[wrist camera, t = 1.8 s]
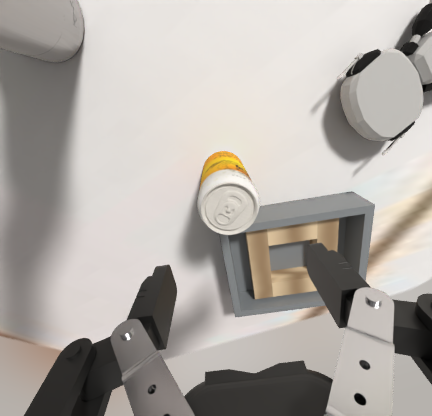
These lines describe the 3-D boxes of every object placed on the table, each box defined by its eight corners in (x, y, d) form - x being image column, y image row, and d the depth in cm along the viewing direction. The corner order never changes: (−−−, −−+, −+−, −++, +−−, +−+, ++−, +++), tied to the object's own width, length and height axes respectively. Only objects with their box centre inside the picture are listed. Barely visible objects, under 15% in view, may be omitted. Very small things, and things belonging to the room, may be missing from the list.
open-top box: (232, 293, 44) (235, 317, 39) (217, 213, 37) (218, 229, 32) (345, 278, 43) (362, 300, 38) (352, 191, 36) (375, 204, 31)
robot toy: (419, -7, 27) (317, 86, 30) (460, -32, 23) (336, 80, 25) (454, 79, 31) (360, 155, 33) (495, 72, 26) (383, 159, 29)
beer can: (250, 163, 34) (275, 199, 20) (229, 195, 36) (239, 248, 22) (215, 142, 32) (217, 165, 19) (196, 177, 35) (184, 221, 21)
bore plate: (252, 287, 42) (255, 299, 39) (243, 222, 37) (246, 231, 34) (327, 276, 41) (335, 288, 39) (329, 209, 36) (339, 217, 33)
